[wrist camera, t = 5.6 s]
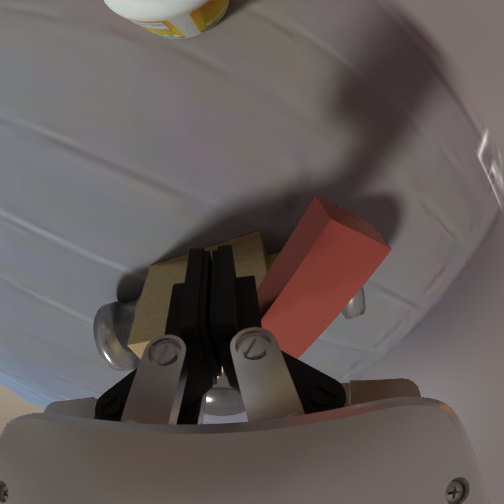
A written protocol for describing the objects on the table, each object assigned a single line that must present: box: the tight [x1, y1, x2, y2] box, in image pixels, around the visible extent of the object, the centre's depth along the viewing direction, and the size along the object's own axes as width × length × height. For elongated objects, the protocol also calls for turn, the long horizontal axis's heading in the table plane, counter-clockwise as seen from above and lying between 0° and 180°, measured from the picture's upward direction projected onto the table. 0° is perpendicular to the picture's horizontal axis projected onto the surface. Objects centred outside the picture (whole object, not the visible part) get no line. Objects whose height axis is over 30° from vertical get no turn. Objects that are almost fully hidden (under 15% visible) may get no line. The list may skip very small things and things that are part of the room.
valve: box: [94, 231, 365, 371], centre depth 20 cm, size 20×8×9 cm, turn 108°
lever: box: [204, 195, 391, 416], centre depth 13 cm, size 14×4×2 cm, turn 154°
